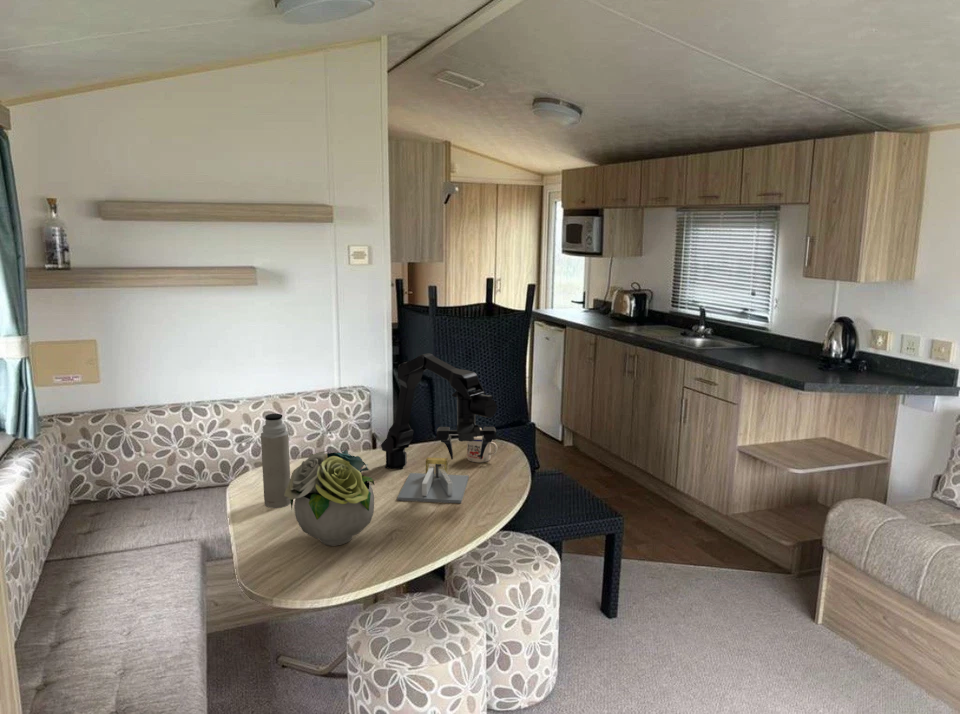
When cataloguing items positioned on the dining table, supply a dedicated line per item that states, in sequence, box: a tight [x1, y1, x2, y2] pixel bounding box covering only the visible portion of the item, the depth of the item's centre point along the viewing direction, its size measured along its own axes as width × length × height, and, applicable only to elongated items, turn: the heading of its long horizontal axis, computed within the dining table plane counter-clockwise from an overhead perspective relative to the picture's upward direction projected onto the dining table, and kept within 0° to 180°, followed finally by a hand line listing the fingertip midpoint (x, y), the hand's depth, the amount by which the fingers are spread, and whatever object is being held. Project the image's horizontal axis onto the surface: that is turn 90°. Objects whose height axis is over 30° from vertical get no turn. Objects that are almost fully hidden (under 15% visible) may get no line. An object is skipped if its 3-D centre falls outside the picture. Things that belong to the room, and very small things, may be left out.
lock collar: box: [425, 456, 449, 475], centre depth 230 cm, size 7×2×6 cm, turn 85°
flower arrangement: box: [284, 449, 375, 547], centre depth 185 cm, size 25×25×24 cm
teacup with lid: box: [466, 427, 499, 463], centre depth 250 cm, size 12×9×12 cm
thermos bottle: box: [260, 413, 291, 509], centre depth 208 cm, size 8×8×28 cm
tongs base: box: [397, 464, 469, 504], centre depth 223 cm, size 20×21×5 cm
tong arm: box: [438, 465, 453, 496], centre depth 222 cm, size 2×16×4 cm, turn 14°
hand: (466, 459), depth 220 cm, fingers open, 9 cm apart
